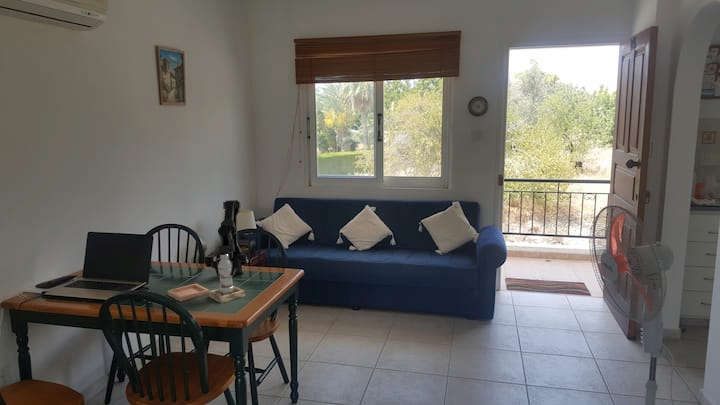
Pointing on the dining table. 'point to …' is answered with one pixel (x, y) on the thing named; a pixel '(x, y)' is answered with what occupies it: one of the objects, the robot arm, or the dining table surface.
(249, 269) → the dining table surface
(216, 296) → the collar
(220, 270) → the plastic bottle
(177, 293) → the tray
